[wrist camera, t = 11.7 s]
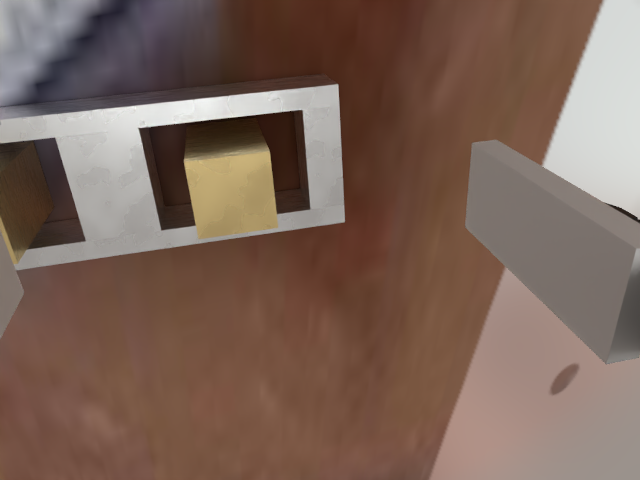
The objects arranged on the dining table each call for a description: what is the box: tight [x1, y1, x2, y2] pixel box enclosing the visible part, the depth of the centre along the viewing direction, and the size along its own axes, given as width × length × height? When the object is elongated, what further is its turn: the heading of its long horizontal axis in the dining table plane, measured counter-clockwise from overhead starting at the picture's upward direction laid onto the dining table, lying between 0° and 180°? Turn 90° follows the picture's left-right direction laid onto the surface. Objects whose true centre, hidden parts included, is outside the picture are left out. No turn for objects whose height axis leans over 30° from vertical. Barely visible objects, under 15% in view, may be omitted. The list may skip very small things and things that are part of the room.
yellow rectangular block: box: [184, 118, 278, 239], centre depth 32 cm, size 4×4×8 cm
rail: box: [0, 74, 345, 270], centre depth 33 cm, size 9×28×4 cm, turn 94°
